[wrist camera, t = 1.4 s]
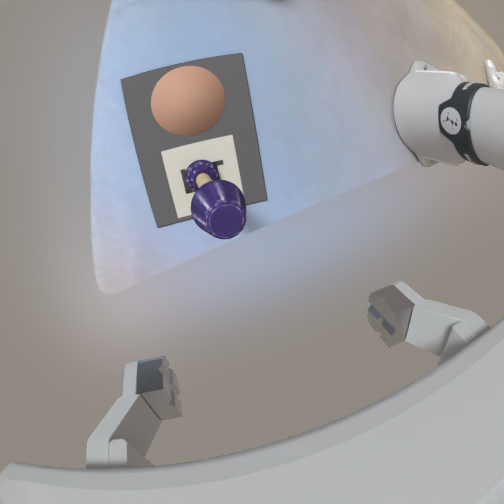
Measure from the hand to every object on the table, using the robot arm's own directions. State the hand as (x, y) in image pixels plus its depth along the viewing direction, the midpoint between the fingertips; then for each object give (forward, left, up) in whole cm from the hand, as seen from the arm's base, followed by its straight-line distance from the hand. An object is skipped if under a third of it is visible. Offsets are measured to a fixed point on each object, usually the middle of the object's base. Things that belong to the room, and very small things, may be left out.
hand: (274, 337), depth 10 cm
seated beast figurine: (-65, -14, -29) cm, 73 cm away
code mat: (0, -5, -29) cm, 29 cm away
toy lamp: (0, 0, -29) cm, 29 cm away
